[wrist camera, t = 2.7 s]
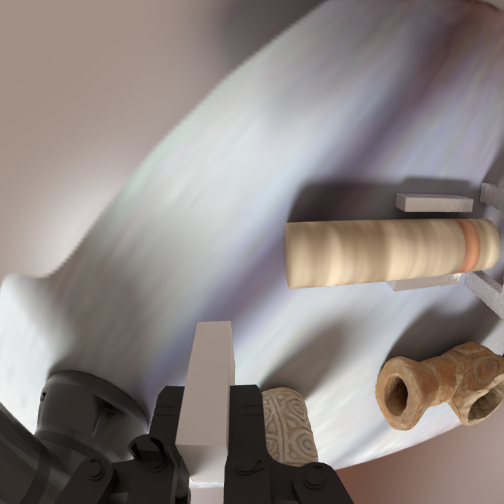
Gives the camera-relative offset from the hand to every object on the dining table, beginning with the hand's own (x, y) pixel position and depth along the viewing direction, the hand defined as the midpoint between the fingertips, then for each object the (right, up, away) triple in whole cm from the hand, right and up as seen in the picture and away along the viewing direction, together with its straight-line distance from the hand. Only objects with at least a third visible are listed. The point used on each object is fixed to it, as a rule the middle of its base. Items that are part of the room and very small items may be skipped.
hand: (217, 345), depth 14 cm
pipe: (+24, -9, +19) cm, 32 cm away
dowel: (+14, +5, +12) cm, 20 cm away
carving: (+5, -13, +19) cm, 23 cm away
